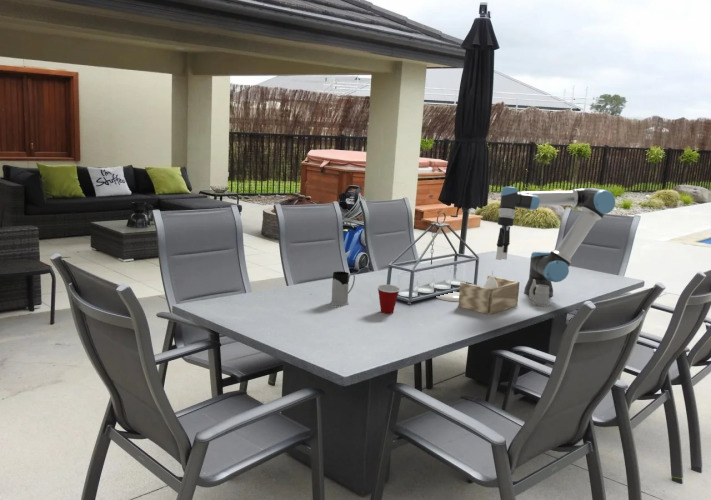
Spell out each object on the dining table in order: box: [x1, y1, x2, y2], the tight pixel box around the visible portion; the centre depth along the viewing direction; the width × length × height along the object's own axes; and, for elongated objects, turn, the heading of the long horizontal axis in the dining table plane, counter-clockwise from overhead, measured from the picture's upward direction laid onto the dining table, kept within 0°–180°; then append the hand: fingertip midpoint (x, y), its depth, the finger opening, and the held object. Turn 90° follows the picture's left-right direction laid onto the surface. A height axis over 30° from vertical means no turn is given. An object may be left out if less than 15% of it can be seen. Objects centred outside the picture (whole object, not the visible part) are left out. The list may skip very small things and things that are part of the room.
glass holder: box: [330, 271, 356, 307], centre depth 310 cm, size 9×14×15 cm, turn 137°
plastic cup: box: [376, 283, 401, 315], centre depth 297 cm, size 11×11×12 cm
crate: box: [458, 275, 521, 315], centre depth 317 cm, size 18×26×12 cm
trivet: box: [435, 291, 460, 303], centre depth 332 cm, size 18×18×1 cm
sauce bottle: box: [483, 270, 498, 289], centre depth 316 cm, size 8×8×18 cm
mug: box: [528, 279, 550, 308], centre depth 326 cm, size 8×12×12 cm, turn 34°
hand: (501, 259), depth 322 cm, fingers open, 13 cm apart
